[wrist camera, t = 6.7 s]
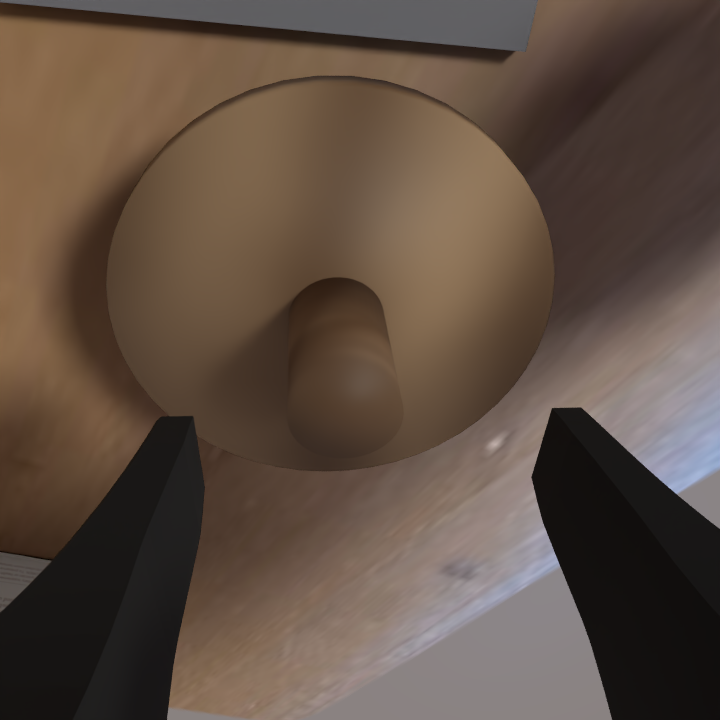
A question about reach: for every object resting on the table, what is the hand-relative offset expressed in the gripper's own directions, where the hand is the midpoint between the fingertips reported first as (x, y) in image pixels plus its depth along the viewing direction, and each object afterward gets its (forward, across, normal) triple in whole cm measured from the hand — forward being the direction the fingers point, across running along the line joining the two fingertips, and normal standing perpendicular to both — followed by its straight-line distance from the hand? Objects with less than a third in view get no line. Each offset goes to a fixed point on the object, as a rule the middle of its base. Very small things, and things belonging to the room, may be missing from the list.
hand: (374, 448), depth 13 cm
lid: (+6, 0, 0) cm, 6 cm away
